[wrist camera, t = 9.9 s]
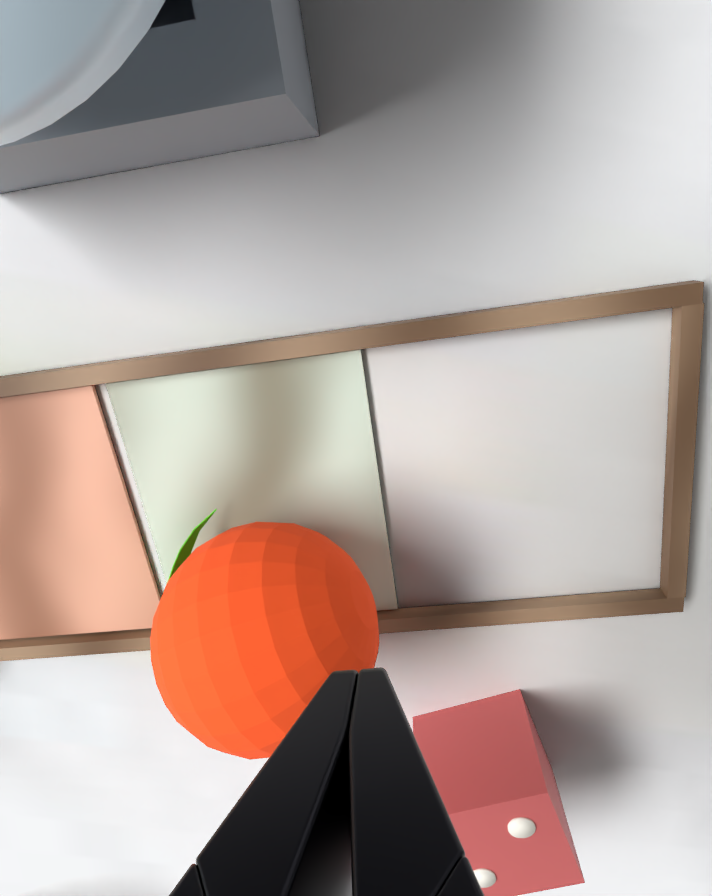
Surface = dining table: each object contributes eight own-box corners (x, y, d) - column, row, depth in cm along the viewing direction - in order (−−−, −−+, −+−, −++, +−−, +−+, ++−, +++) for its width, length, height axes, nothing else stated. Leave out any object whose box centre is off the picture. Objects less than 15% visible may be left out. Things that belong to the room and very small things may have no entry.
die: (519, 687, 22) (548, 794, 18) (551, 767, 24) (585, 884, 19) (412, 715, 23) (416, 823, 19) (449, 791, 24) (460, 908, 20)
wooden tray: (695, 279, 16) (733, 285, 15) (676, 601, 20) (705, 638, 18) (-181, 401, 20) (-241, 418, 18) (-56, 655, 24) (-95, 691, 22)
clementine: (366, 483, 21) (213, 545, 23) (276, 430, 15) (76, 520, 17) (434, 704, 18) (252, 756, 20) (356, 751, 12) (103, 819, 14)
